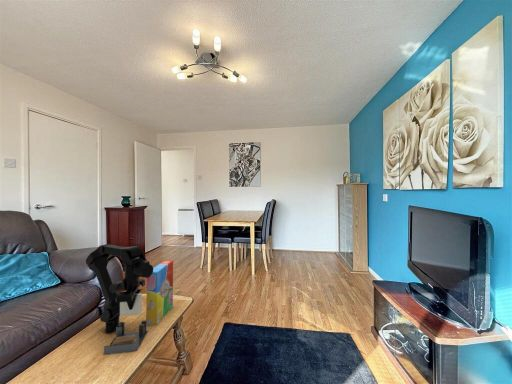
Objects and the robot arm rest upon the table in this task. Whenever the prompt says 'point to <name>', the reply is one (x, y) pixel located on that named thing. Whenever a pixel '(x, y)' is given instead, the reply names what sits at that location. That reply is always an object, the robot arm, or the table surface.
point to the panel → (136, 308)
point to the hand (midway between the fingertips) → (131, 308)
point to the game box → (159, 293)
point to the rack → (121, 332)
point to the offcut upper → (124, 340)
